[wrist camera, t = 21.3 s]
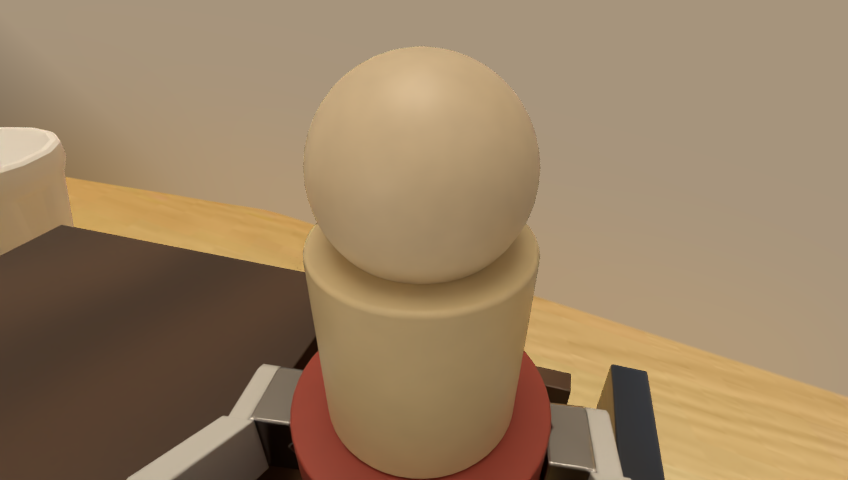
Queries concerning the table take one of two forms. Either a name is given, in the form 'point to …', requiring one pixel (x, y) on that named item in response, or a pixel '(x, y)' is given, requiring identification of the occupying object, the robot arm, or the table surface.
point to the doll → (421, 277)
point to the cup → (31, 185)
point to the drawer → (619, 397)
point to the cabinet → (131, 348)
